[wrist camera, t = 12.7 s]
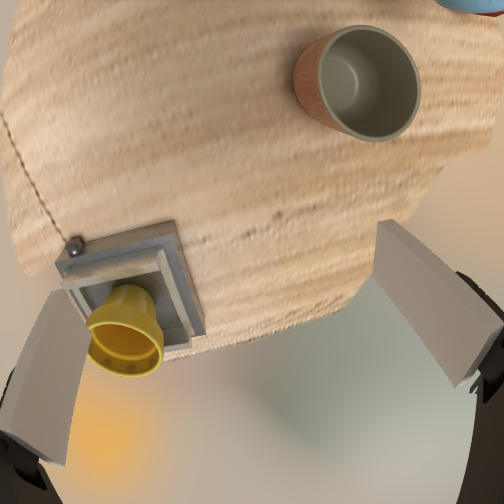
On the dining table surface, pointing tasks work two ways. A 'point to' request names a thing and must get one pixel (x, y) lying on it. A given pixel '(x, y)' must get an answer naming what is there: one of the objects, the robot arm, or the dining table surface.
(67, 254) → the grey square tray
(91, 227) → the dining table surface
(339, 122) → the planter
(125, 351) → the plant pot
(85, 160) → the dining table surface
